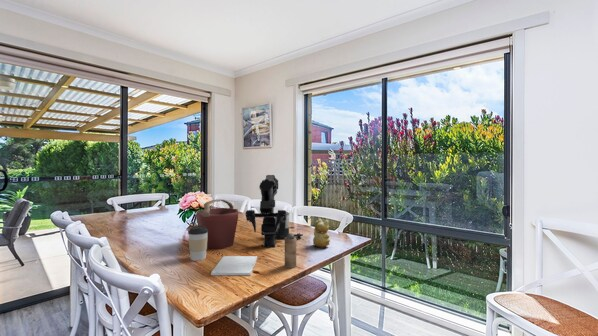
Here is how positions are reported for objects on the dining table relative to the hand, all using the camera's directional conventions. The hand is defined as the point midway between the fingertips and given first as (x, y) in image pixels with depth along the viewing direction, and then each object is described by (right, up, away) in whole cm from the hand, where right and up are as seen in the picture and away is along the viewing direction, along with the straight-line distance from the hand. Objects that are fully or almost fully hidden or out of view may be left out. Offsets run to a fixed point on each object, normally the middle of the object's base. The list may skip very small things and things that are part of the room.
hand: (265, 232), depth 127 cm
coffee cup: (-33, -14, +7) cm, 36 cm away
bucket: (-30, -14, +29) cm, 44 cm away
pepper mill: (+11, -14, -3) cm, 19 cm away
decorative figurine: (+27, -14, +26) cm, 40 cm away
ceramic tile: (-13, -14, -3) cm, 19 cm away
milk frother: (+9, -14, +43) cm, 46 cm away
